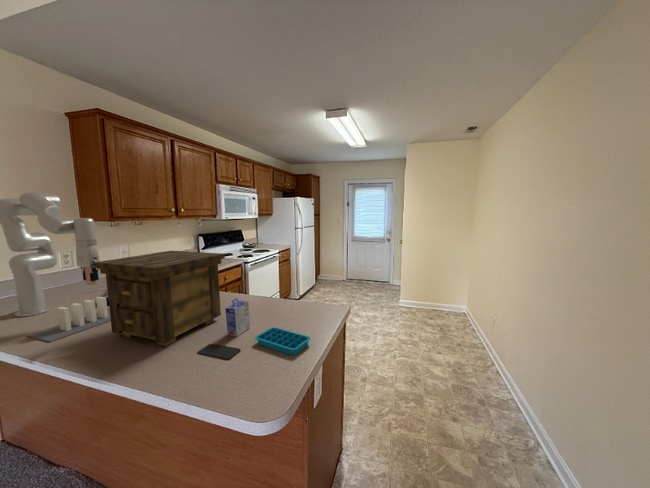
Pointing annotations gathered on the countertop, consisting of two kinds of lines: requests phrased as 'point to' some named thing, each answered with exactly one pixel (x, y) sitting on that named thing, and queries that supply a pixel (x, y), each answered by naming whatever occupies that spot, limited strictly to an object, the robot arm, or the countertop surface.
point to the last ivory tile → (64, 318)
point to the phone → (219, 351)
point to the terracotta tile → (87, 274)
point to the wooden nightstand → (162, 293)
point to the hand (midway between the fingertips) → (91, 279)
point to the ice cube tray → (283, 340)
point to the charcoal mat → (57, 333)
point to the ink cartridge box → (237, 317)
